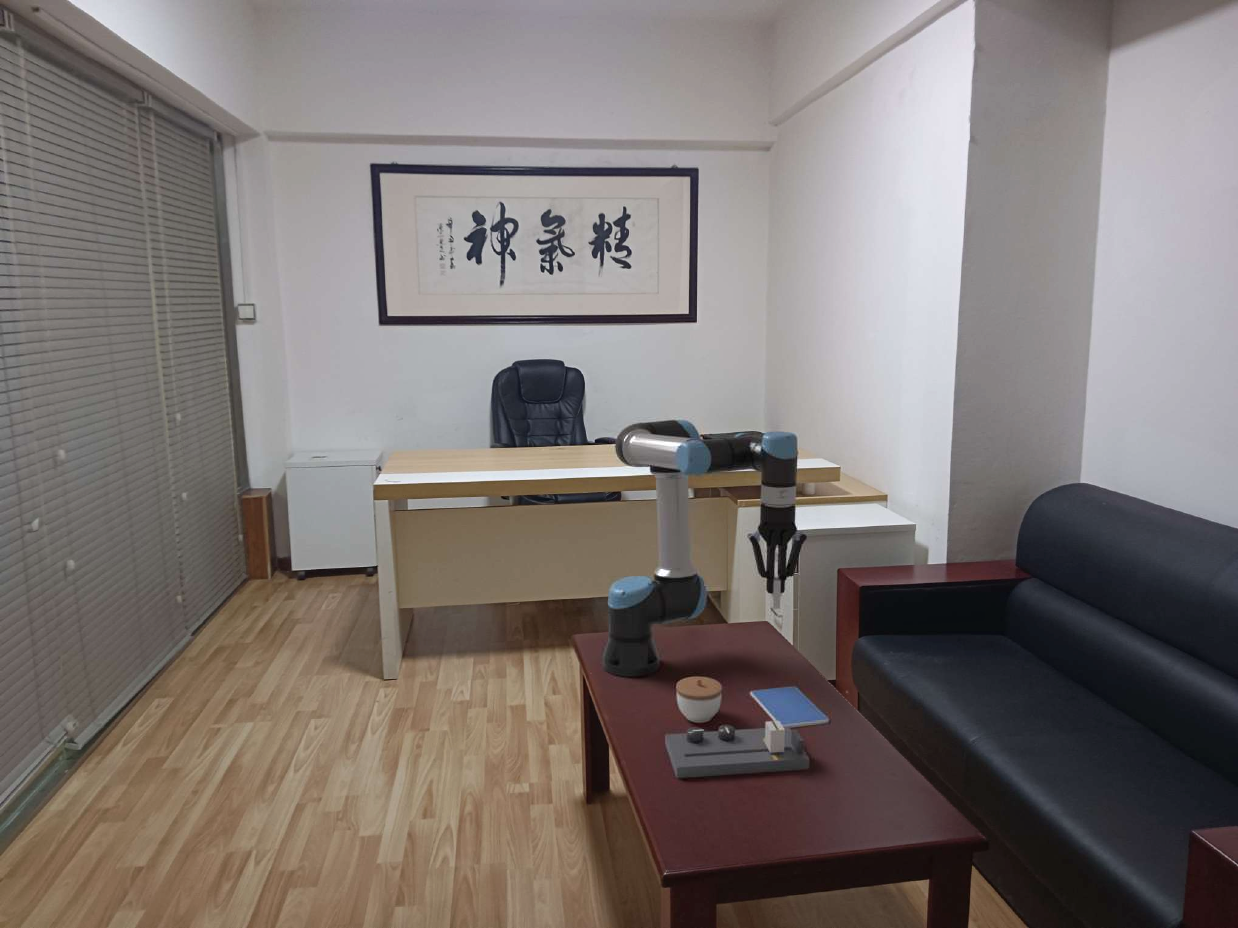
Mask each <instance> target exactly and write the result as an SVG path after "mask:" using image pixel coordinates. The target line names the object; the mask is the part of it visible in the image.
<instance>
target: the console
mask: <svg viewBox="0 0 1238 928" xmlns="http://www.w3.org/2000/svg"><path fill="white" fill-rule="evenodd" d="M783 728H784V729H785V740H784V752H773V753H770V751H769V750H768V748H767V746H766V744H765V727H761V728H747V729H746V728H745V729H736V728H735V727H734V726H732V725H729V724H722V725H720V726H719V727H718V729H717V731H714V730H713V731H705V729H703V728H701V727H697V726H691V727H688V728H687V729H686V732H685V733H684V732H683V733H669V734H667V733H666V734H664V736H665V737H664V738H665V739H664V740H665V748H666V750H667V753H668V756H669V760H670V763H671V765H672V768H673V772H674V774H675V777H676V779H685V778H700V777H701V778H702V777H714V776H715V777H716V776H726V775H727V776H729V775H743V774H757V773H774V772H787V771H802V770H810V757H809V756H808V753H806V751H805V750H804V739H803V738H802V736H801V735H800V733H799V732H798V730H797V729H792V728H790V727H783Z"/></svg>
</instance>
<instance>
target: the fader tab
mask: <svg viewBox="0 0 1238 928" xmlns="http://www.w3.org/2000/svg"><path fill="white" fill-rule="evenodd" d="M764 728H765V744H766V746H767V748H768V750H769V751H770V753H773V752H784V740H785V729H784V728H783V726H782V724H781V723H780V721H773V720H771V721H765V725H764Z"/></svg>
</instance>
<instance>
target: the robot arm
mask: <svg viewBox="0 0 1238 928" xmlns="http://www.w3.org/2000/svg"><path fill="white" fill-rule="evenodd" d="M614 445H615V446H614V450H615V453H616V456H617V457H618V459H619V460H620V461H621V463H623V464H624V465H626V466H629V467H632V468H649V473H650V474H652V476H653V477H654V478H655V487H656V488H655V489H656V515H657V516H656V518H657V541H658V543H657V545H658V566H657V568H656V569H655V570H654V572H653V580H652V579H651V578H650V577H647V576H644V575H638V576H636V575H631V576H626V577H623V578H620V579H618V580H616V581H614V582H613V583H612V584H611V586H610V587H609V590H608V600H607V605H608V639H607V643H606V646H605V649H604V652H603V655H602V667H603V669H604V670H605V671H606V672H607V673H610V674H612V675H615V676H619V677H630V678H631V677H633V678H635V677H643V676H647V675H650V674H653V673H654V672H656V671H658V669H659V668H660V656H659V652H658V650H657V646H656V643H655V641H654V640H655V639H654V637H653V636H654V635H653V633H654V629H653V628H654V626H657V625H663V624H664V625H665V624H668V623H674V622H679V621H680V622H681V621H682V622H683V621H687V620H689V619H693V618H698V616H700V615H701V614H702V612H703V611H704V610H705V608H706V604H707V599H708V598H707V596H708V595H707V586H706V585H705V581H704V579H703V577H702V576H701V575H700V574H698V570H697V569H696V568H695V566H693V565H692V552H691V551H692V550H691V549H692V548H691V525H690V524H691V521H690V494H689V493H690V490H689V489H690V487H689V477H690V476H695V477H697V476H701V475H702V476H703V475H707V474H708V475H709V474H710V475H711V474H717V473H728V472H736V471H747V470H753V471H757V472H759V473H761V477H760V478H761V480H760V481H761V484H760V486H761V487H760V501H761V502H762V503H761V504H760V510H759V513H760V515H759V517H760V518H759V520H760V521H759V525H758V526H757V530H756V531H754V532H753V533H749V534H747V538H748V540H749V542H750V543H751V546H752V550H753V554H754V560H755V563H756V568H757V569H756V570H757V573H758V574H759V576H760V577H762V578H763V579H766V584H765V585H766V586H765V587H766V588H765V590H766V592H767V594H769V595H770V597H769V605H770V607H771V608H772V609H773V610H775V609H776V610H777V609H778V610H779V609H781V594H784V593H785V590H786V581H787V579H788V578H789V577H793V576H794V574H795V571H796V568H797V564H798V560H799V557H800V554H801V550H802V546H803V545H804V543H805V541H806V540H807V538H808V537H807V535H806V534H805V533H804V532H803V531H799V530H798V527H797V525H796V505H795V503H796V501H797V474H798V458H799V457H798V455H799V450H798V436H797V435H795V434H794V433H793V432H789V431H776V430H775V431H768V432H765V433H764V434H763V435H762V436H759V435H756V434H754V433H744V432H741V433H738V434H736V435H735V434H734V436H731V437H721V438H710V439H701V436H700V434H699V430H697V428H696V426H695V425H694V424H693V423H692V422H690V421H688V420H685V419H669V420H668V419H667V420H657V421H648V422H636V423H633V424H630V425H628V426H627V427H625V428H623V429H622V430H621V431H620V432H619V434H618V435H617V437H616V439H615V444H614ZM761 538H762V539H763V541H764V542H765V544H766V561H765V562H766V565H765V563H764V559H763V554H762V549H761V545H760V542H761ZM792 538H793V542H792V546H791V550H790V552H789V557H788V560H787V551H788V544H789V542H790V541H791V540H792ZM777 549H778V550H777ZM776 550H777V576H775V567H776V565H775V564H776V562H775V561H776ZM765 566H766V567H765Z"/></svg>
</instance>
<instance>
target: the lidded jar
mask: <svg viewBox="0 0 1238 928" xmlns="http://www.w3.org/2000/svg"><path fill="white" fill-rule="evenodd" d="M675 686H676V687H675V689H676V690H675V691H676V703H677V707H678V708H679V711H680V712H681V714H682V715H683V716H684V717H685V718H686V720H688V721H690V722H692V723H697V724H700V723H701V724H703V723H704V724H705V723H707V722H710V721H711V720H712V719H713V717H714V716H715V715H716V714H717V713H718V711H719V709H720V707H721V704H722V693H723V685H722V684H721V682H719V681H718V680H716V679H713V678H711V677H708V676H707V677H706V676H689V677H684V678H682V679H680V680H679V681H678V682H677V683H676V685H675Z"/></svg>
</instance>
